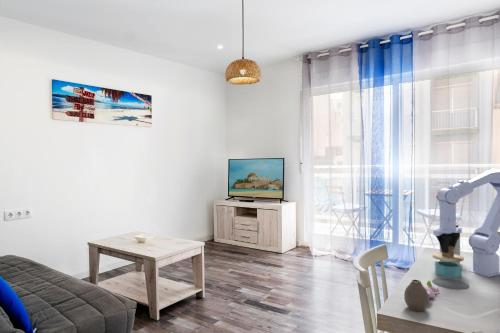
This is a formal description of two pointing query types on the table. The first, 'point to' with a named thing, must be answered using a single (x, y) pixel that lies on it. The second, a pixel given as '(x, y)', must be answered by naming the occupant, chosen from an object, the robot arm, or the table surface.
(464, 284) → the mat
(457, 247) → the travel mug
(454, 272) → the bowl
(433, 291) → the rabbit figure
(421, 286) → the vase
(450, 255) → the lid
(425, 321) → the table surface
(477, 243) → the robot arm
